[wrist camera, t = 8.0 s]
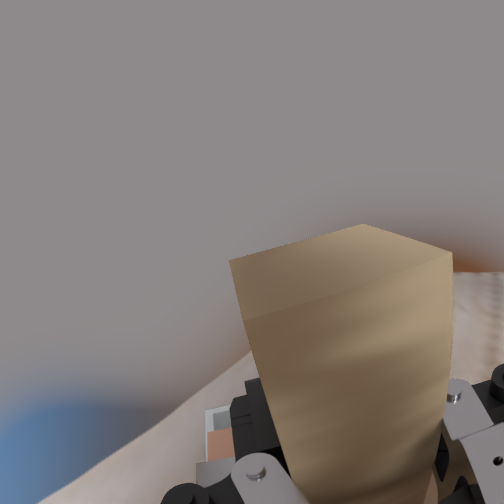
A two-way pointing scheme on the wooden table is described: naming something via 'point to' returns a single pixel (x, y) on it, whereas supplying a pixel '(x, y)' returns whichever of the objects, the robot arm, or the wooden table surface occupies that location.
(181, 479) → the wooden table surface
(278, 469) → the robot arm
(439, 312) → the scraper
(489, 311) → the wooden table surface
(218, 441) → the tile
